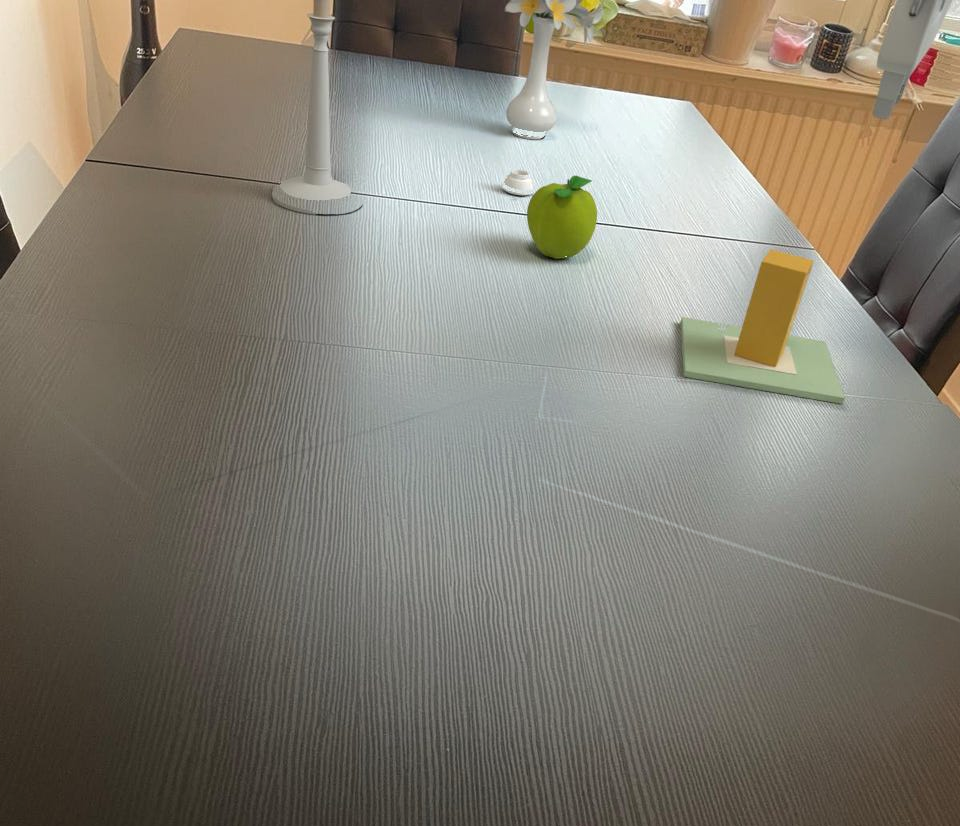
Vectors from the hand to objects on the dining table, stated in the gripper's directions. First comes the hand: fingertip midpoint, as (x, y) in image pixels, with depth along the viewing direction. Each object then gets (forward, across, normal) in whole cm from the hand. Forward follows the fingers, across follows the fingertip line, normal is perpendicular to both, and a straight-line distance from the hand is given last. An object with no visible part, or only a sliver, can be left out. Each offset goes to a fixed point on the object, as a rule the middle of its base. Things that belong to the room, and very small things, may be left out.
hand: (885, 109), depth 107 cm
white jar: (+27, +33, +52) cm, 67 cm away
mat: (+27, -6, +4) cm, 28 cm away
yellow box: (+26, -6, +4) cm, 27 cm away
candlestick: (+27, +6, +72) cm, 77 cm away
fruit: (+27, +10, +36) cm, 47 cm away
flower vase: (+27, +68, +63) cm, 97 cm away
